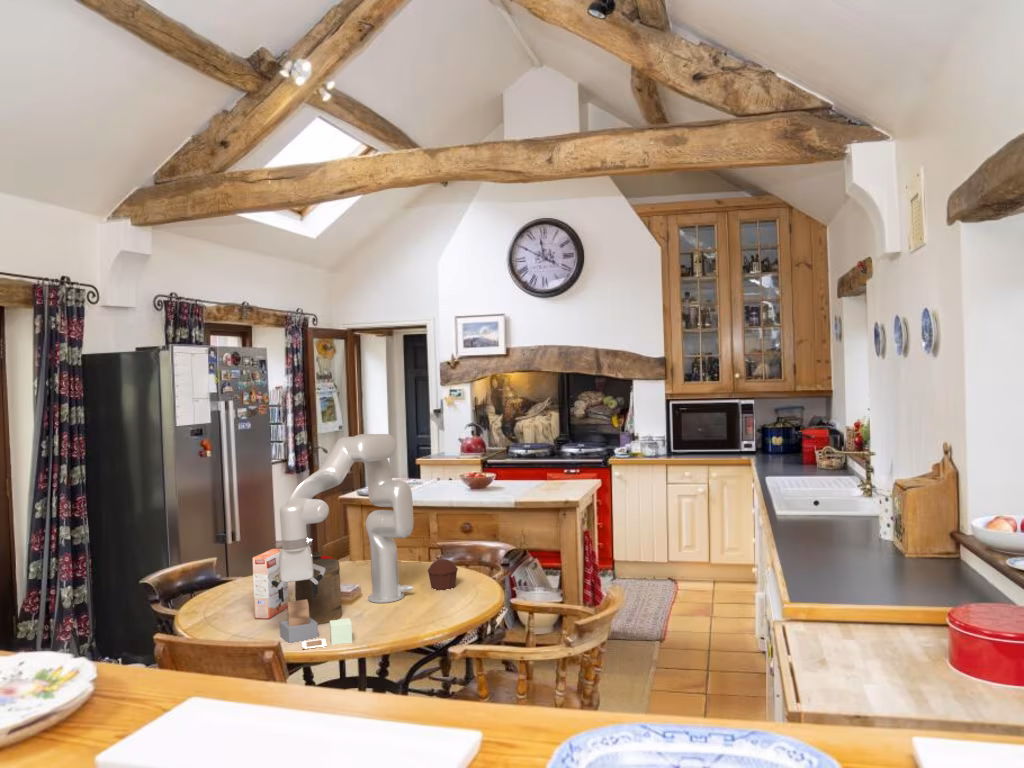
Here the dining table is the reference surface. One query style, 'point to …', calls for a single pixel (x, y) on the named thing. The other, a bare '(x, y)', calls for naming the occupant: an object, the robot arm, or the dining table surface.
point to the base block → (298, 631)
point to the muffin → (442, 574)
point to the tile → (314, 643)
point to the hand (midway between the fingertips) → (298, 598)
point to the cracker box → (267, 585)
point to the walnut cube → (298, 612)
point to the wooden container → (322, 591)
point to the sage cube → (341, 631)
